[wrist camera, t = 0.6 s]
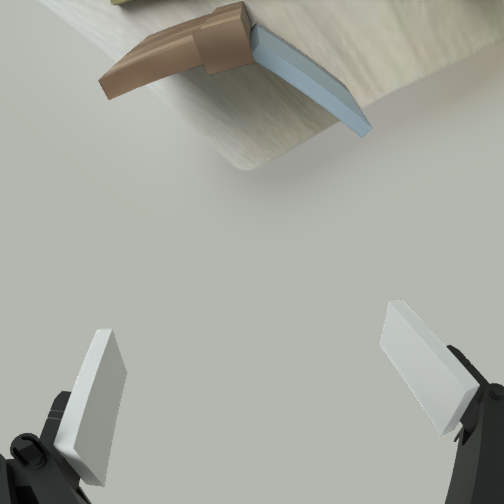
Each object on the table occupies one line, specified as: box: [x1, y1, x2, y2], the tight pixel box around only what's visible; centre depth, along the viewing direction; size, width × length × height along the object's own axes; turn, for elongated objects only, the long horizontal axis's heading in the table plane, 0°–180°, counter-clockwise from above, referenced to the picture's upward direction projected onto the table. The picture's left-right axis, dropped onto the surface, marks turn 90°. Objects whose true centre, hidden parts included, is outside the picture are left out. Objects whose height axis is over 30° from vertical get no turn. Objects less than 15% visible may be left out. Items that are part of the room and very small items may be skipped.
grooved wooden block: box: [98, 1, 254, 100], centre depth 24 cm, size 3×12×16 cm, turn 105°
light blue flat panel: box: [250, 23, 372, 137], centre depth 29 cm, size 13×2×11 cm, turn 55°
